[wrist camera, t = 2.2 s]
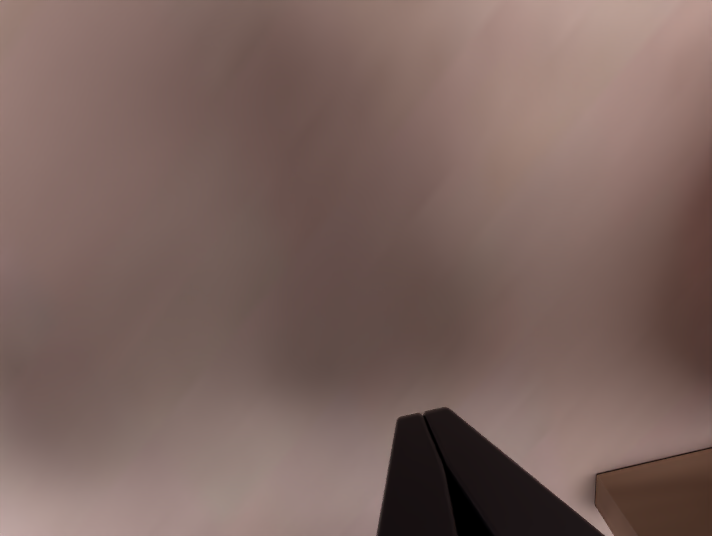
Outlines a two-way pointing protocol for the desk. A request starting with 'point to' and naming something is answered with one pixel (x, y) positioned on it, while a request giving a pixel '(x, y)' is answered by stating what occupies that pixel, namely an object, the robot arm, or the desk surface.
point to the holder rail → (659, 497)
